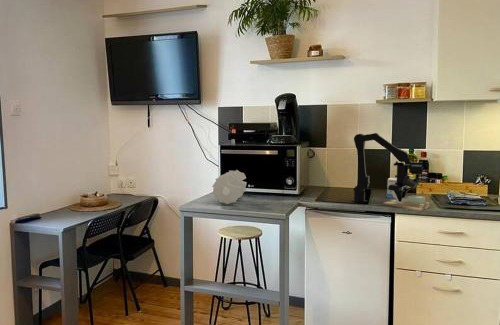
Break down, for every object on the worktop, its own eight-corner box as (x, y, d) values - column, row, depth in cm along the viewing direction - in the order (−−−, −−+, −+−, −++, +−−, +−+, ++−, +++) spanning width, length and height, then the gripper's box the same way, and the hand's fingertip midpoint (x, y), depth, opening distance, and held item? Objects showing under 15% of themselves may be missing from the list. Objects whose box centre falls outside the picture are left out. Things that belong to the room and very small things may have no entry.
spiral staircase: (219, 211, 223) (228, 200, 247) (246, 199, 219) (252, 189, 243) (204, 183, 221) (215, 175, 246) (231, 170, 217) (239, 163, 242)
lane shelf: (419, 210, 204) (420, 205, 203) (383, 204, 220) (383, 199, 219) (430, 207, 211) (430, 202, 211) (394, 201, 227) (394, 196, 227)
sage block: (420, 207, 207) (420, 198, 206) (394, 202, 218) (395, 194, 217) (424, 205, 210) (425, 196, 209) (399, 201, 221) (399, 193, 221)
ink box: (386, 197, 237) (387, 178, 235) (387, 196, 241) (388, 177, 240) (401, 199, 233) (402, 179, 231) (402, 197, 237) (403, 178, 236)
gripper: (407, 177, 204) (406, 206, 205) (424, 173, 216) (423, 201, 217) (388, 174, 212) (387, 202, 214) (405, 171, 224) (404, 198, 226)
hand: (401, 201), depth 218 cm, fingers closed on sage block, 2 cm apart
